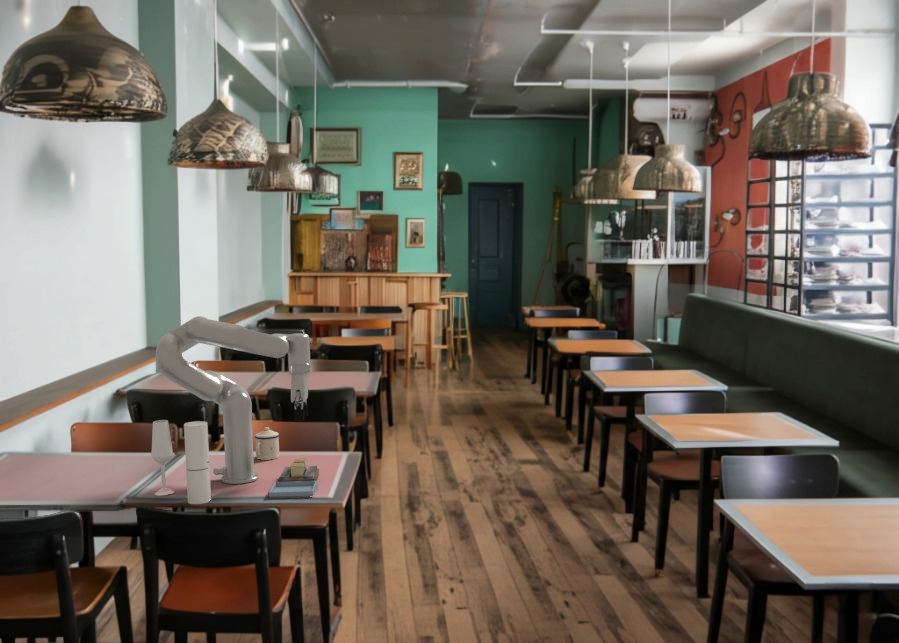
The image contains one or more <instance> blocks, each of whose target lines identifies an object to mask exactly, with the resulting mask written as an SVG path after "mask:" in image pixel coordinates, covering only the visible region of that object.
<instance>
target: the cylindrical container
mask: <svg viewBox="0 0 899 643" xmlns="http://www.w3.org/2000/svg"><path fill="white" fill-rule="evenodd" d="M208 428H209V426H208V422H207V421H204V420H203V421H202V420H201V421H200V420H196V421H188V422H185V423H184V424H183V430H184V431H183V433H184V434H183V435H184V451H185V452H184V455H185V473H186V487H187V488H186V489H187V490H186V491H187V494H186V495H187V503H188V504H190V505H203V504H207V503H209V501H210V500H211V501H212V491H211V490H212V489H211V469H210V468H211V467H210V450H209V446H210V445H209V429H208ZM211 501H210V502H211Z"/></svg>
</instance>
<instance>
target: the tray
mask: <svg viewBox="0 0 899 643" xmlns="http://www.w3.org/2000/svg"><path fill="white" fill-rule="evenodd" d="M316 488H318V480H317V481H293V482H278V481H275V482H274V483H273V485H272V487H271V488H270V490H269V491H268V499H269V498H270V499H294V498H295V499H298V498H299V497H304V498H311V497H310V496H313V495H314V496H315V494H314V493H316V491H317V489H316ZM315 490H316V491H315ZM314 496H313V497H314Z"/></svg>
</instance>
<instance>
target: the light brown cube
mask: <svg viewBox="0 0 899 643" xmlns="http://www.w3.org/2000/svg"><path fill="white" fill-rule="evenodd" d="M307 460H308V459H307V458H294V459H293V462H292V463H304V466H305V473H306V471H307V469H308V466H307V465H308V463H307Z"/></svg>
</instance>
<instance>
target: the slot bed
mask: <svg viewBox="0 0 899 643" xmlns="http://www.w3.org/2000/svg"><path fill="white" fill-rule="evenodd" d="M318 476H319V477H320V468H318V465H309V466H307V471H306V473H305V475H304V477H297V478H291V466H285V467H284V469H283V471H282V472H281V474H280V476H279V477H278V480H277V482H293V481H316V480H317V481H318V479H319V477H318ZM317 478H318V479H317Z"/></svg>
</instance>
